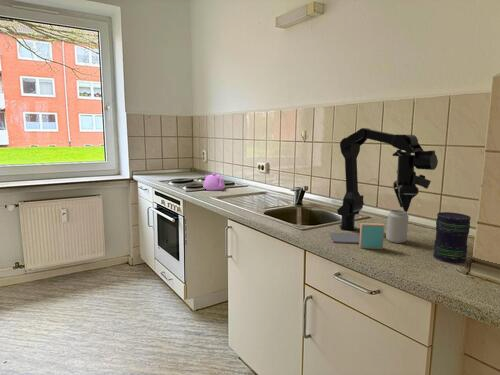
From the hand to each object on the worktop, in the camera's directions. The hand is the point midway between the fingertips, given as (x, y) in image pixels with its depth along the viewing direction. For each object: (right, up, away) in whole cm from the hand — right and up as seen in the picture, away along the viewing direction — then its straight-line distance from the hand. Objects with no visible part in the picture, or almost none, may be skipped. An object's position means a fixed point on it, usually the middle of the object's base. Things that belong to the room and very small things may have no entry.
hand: (403, 209), depth 134 cm
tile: (-14, -14, -5) cm, 20 cm away
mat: (-20, -12, +6) cm, 24 cm away
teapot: (-85, +7, +121) cm, 148 cm away
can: (-1, -13, +4) cm, 14 cm away
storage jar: (+9, -16, -15) cm, 23 cm away
